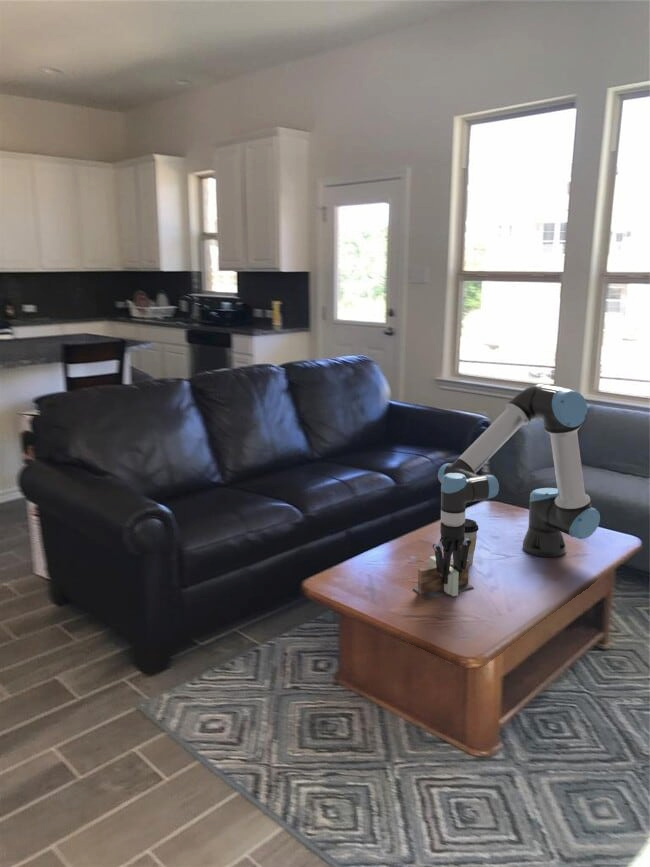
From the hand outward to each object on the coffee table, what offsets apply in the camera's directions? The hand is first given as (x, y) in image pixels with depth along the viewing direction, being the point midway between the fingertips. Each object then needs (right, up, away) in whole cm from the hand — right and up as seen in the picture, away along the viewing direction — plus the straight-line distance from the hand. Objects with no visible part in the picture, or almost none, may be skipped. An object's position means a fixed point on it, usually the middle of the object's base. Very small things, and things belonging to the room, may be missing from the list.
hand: (450, 591), depth 222 cm
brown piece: (-2, 0, +4) cm, 5 cm away
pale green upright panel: (-2, +1, +4) cm, 4 cm away
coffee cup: (+9, +5, +24) cm, 26 cm away
